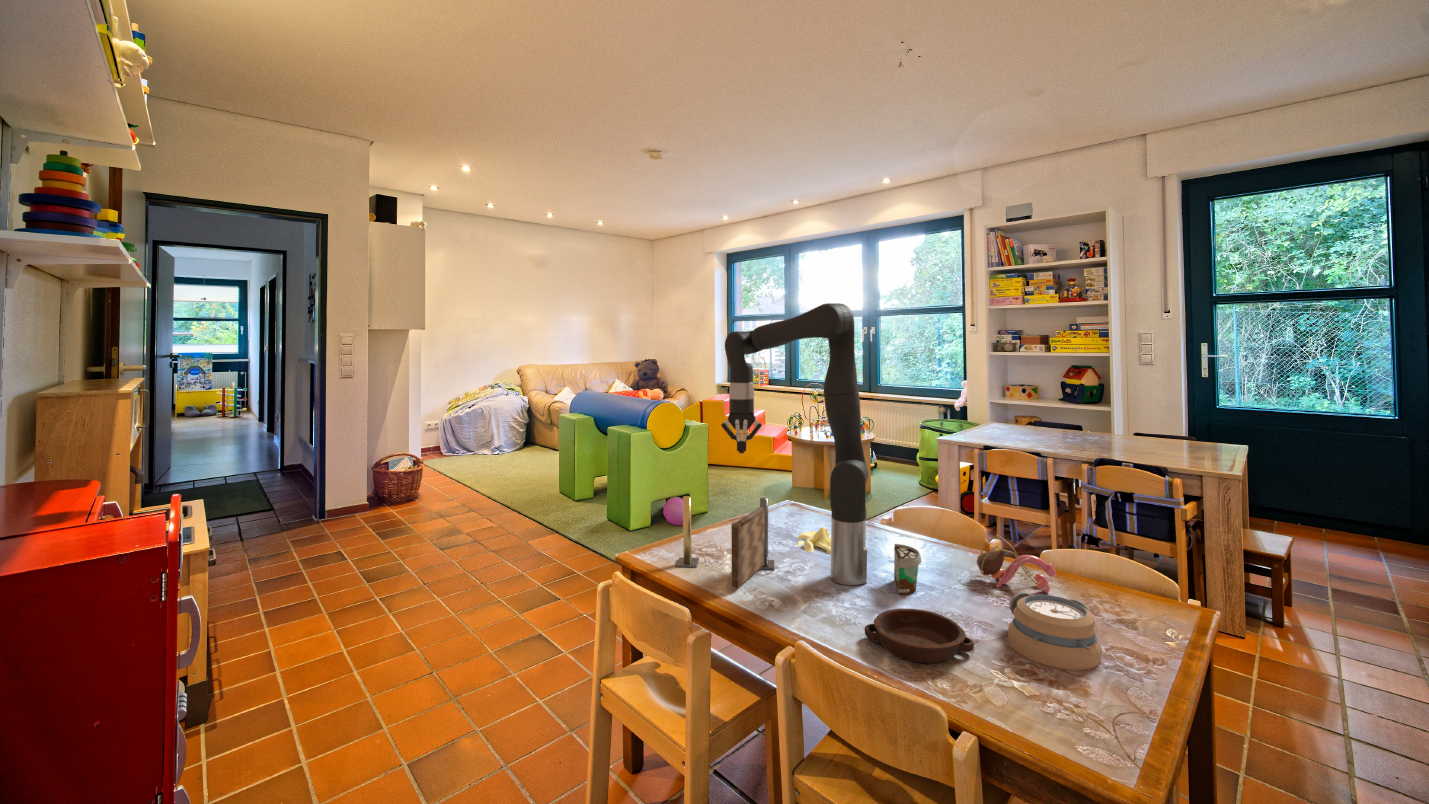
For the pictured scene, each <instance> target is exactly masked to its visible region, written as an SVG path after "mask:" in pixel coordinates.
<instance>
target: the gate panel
mask: <svg viewBox="0 0 1429 804" xmlns="http://www.w3.org/2000/svg"><path fill="white" fill-rule="evenodd" d="M730 524H731V587H733V588H737V589H739V588H740V587H742V585H743V584H744V583H745V582H746V581H747V580H749V578H751V577H752V576H753V575H754V574H755V573H756V572H758V571H759V570H761V569H760V568H761V567H762V566H763V565H764V509H763V508H762V507H760V506H759V507H757V508H756V509H754V510H753V511H751V512H750V513H748V514H747V515H745V516H743V517H742V518H741V519H739V520H738V521H734V522H731V523H730Z"/></svg>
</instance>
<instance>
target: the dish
mask: <svg viewBox="0 0 1429 804" xmlns="http://www.w3.org/2000/svg"><path fill="white" fill-rule="evenodd" d="M864 635H865V636H866V638H868V639H869V640H871V641H874V642H877V643H878V644H881V645H883V647H884V648H885V649H886V650H887V651H889V652H890V653H891V654H893V655H895V656H896V657H898V658H901V659H903V660H906V661H910V662H915V663H921V664H933V663H934V664H935V663H940V662H943V661H946V660H948V659H950V658H951V657H953V656H954V655H955V654H957V653H970V652H972V651H973V650H974V649H975V648H974V647H975V642H974V640H973V639H972V638H970V637H967V636H966V632H965V630H964V629H963V628H962V627H961V625H959V624H958V623H957V622H956V621H955V620H953V619H951V618H948V617H946V616H945V615H942V614H940V613H937V612H934V611H931V610H924V609H920V608H919V609H917V608H893V609H887V610H884V611H882V612H880V613H879V614H878V615H876V617H875V618H874V620H873V623H870V624H867V625H865V627H864Z"/></svg>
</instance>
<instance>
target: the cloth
mask: <svg viewBox="0 0 1429 804" xmlns="http://www.w3.org/2000/svg"><path fill="white" fill-rule="evenodd" d="M796 538H797V539H802V540H805V541H801V540H798V542H797V543H796V546H798V547H799V546H803V547H802V548H803V550H804V551H806V552H807V553H814V550H815V549H814V547H817V548H821V549H823V550H824V551H825V552H826V553H827V554H829V555H831V536H830V531H829V530H828V528H827V527H820V528H819V529H818V531H814V530H812V531H807V532H803V533H799V535H798V536H797V537H796Z"/></svg>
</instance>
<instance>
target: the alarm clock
mask: <svg viewBox="0 0 1429 804" xmlns="http://www.w3.org/2000/svg"><path fill="white" fill-rule="evenodd" d="M1008 605H1009V610H1010V612H1011V614H1012V615H1013V616H1014V617H1013V619H1012V620H1011V621H1010V622H1009V624H1008V629H1007V640H1008V641H1007V642H1008V643H1009V645H1010V646H1011V648H1012V649H1013V650H1014V651H1016V652H1017V653H1018V654H1020V655H1022V656H1023V657H1025V658H1027V659H1029V660H1031V661H1033V662H1036V663H1039V664H1040V665H1041V664H1042V665H1045V666H1047V667H1052V668H1055V669H1061V670H1070V671H1086V670H1090V669H1093V668H1095V667H1097V666H1099V664H1100V663H1101V661H1102V652H1103V651H1102V650H1103V649H1102V644H1101V642H1100V640H1099V638H1098V635H1097V633H1098V632H1099V631H1098V629H1099V628H1098V626H1097V625H1098V624H1096V620H1095V619H1096V618H1095V615H1094V614H1093V613H1092V612H1091V611H1090V609H1089V607H1088V606H1087V605H1086V604H1085V603H1084V602H1083V601H1080V600H1078V599H1074V598H1070V599H1068V598H1064V597H1060V596H1057V595H1056V596H1055V595H1049V594H1029V593H1028V592H1024V591H1023V592H1021V591H1020V592H1017V593H1015V594H1014V595H1012V597H1011V599H1009V604H1008Z"/></svg>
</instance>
